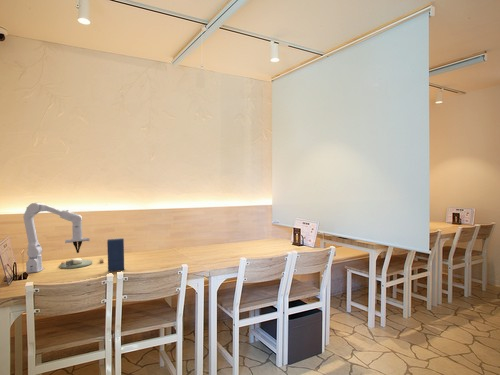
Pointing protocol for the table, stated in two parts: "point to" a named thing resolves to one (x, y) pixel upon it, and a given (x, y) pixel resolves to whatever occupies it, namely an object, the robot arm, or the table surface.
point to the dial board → (72, 266)
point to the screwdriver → (101, 260)
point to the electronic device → (115, 254)
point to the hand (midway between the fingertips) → (77, 252)
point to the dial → (74, 261)
